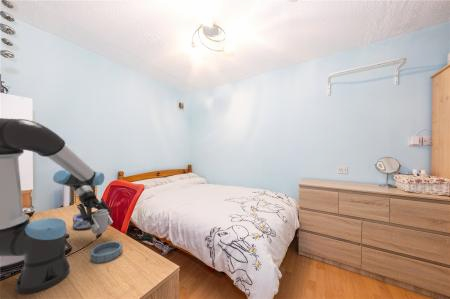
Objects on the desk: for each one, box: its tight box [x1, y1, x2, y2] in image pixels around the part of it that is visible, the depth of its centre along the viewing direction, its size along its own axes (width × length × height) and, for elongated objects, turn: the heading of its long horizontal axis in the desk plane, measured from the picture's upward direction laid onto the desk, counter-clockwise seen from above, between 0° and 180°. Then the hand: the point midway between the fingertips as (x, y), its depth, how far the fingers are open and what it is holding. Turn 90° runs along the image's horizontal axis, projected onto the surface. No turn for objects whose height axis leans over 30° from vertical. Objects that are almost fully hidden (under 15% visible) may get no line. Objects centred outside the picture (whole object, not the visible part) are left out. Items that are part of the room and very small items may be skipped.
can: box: [91, 209, 110, 235], centre depth 99 cm, size 8×8×12 cm
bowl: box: [89, 240, 123, 264], centre depth 88 cm, size 13×13×4 cm
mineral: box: [72, 213, 92, 230], centre depth 117 cm, size 14×10×10 cm
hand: (104, 226), depth 98 cm, fingers closed on can, 7 cm apart
